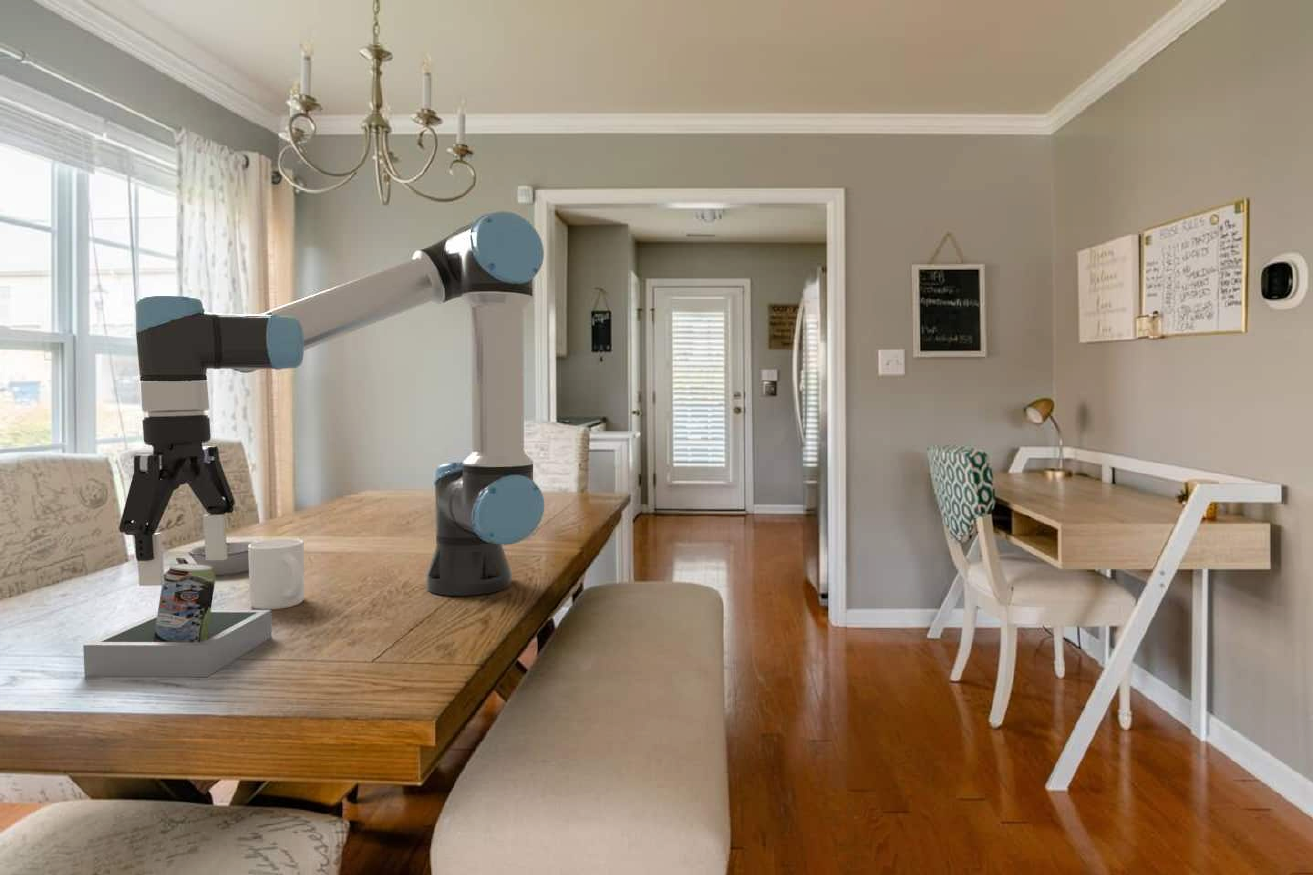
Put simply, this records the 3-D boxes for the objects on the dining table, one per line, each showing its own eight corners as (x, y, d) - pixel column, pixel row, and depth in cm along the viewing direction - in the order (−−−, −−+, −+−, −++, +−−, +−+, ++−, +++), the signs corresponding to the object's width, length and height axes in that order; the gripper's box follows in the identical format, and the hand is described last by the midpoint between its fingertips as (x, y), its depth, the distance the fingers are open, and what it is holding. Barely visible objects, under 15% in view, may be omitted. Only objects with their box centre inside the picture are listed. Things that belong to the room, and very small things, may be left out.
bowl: (253, 576, 145) (252, 551, 145) (179, 580, 142) (178, 554, 142) (271, 561, 157) (270, 538, 157) (204, 564, 155) (203, 541, 154)
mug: (324, 606, 124) (323, 545, 123) (273, 617, 118) (271, 553, 117) (291, 594, 132) (289, 536, 131) (241, 604, 125) (239, 543, 125)
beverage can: (141, 657, 98) (140, 568, 97) (194, 640, 105) (193, 556, 104) (174, 665, 96) (173, 574, 95) (226, 647, 103) (225, 562, 102)
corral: (271, 636, 108) (270, 609, 108) (207, 676, 93) (206, 645, 93) (166, 636, 108) (165, 609, 108) (84, 676, 93) (83, 645, 93)
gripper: (205, 411, 111) (214, 551, 113) (74, 419, 86) (87, 598, 88) (255, 410, 111) (263, 550, 113) (138, 417, 86) (150, 597, 88)
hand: (186, 571), depth 100 cm, fingers open, 13 cm apart
